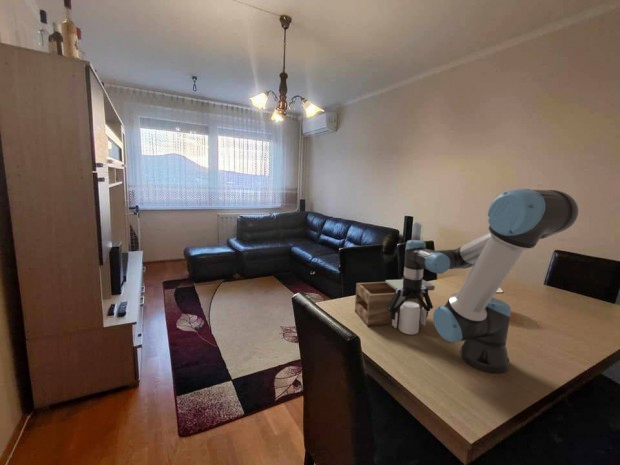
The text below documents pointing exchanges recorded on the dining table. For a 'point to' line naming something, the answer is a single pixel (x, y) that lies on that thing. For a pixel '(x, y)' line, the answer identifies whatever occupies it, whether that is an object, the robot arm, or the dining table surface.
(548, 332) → the dining table surface
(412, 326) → the beverage can
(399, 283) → the lid
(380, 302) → the crate
